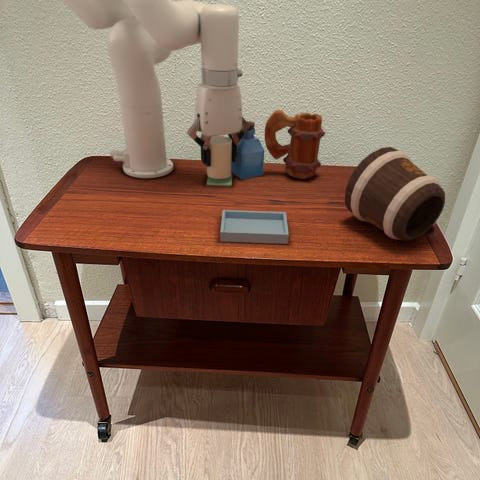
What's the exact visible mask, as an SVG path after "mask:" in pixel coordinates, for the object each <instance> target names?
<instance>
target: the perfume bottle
mask: <svg viewBox="0 0 480 480" xmlns="http://www.w3.org/2000/svg"><path fill="white" fill-rule="evenodd" d="M246 121H247V122H248V124H249V125H250V127H249V129H248V130H247V131H246V132H245V133H244V136H243V137H242V138H241V140H240V141H239V144H238V145H237V157H236V162H232V167H231V173H232V174H234V175H235V176H236V177H237V178H239V179H240V180H245V179H251V178H257V177H262V176H264V163H265V149H264V147H263V145H262V143H261V140H260V139H259V138H258V137H256V136H254V135H255V134H256V127H255V124H256V123H255V122H254V121H248V120H246Z"/></svg>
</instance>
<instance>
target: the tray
mask: <svg viewBox="0 0 480 480" xmlns="http://www.w3.org/2000/svg"><path fill="white" fill-rule="evenodd" d="M219 235H220V236H219V238H220V239H219V241H220V242H222V243H223V242H226V243H249V244H250V243H251V244H253V243H255V244H277V245H279V244H281V245H288V244H289V236H290V234H289V225H288V219H287V212H286V211H266V210H265V211H264V210H263V211H261V210H260V211H259V210H240V209H239V210H237V209H236V210H234V209H222V213H221V222H220V231H219Z"/></svg>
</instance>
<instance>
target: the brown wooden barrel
mask: <svg viewBox="0 0 480 480" xmlns="http://www.w3.org/2000/svg"><path fill="white" fill-rule="evenodd" d="M344 203H345V207H346V209H347V211H349V212H350V213H351V214H352V215H353V216H354V217H355V218H356V219H357V220H359V221H362V222H367V223H370V224H371V225H373V226H375V227H377V228H378V229H379V230H381V231H383V232H384V234H385V235H386V236H387V237H389V238H390V239H392V240H399V241H405V242H408V241H412V240H416V239H417V238H419V237H421V236H422V235H424V234H425V233H426V232H427V231H429V230H430V229H431V228H432V227H433V226H435V225H436V224H437V223H438V219H439V218H440V216H441V214H442V212H443V210H444V207H445V204H446V192H445V190H444V189H443V187H442V184H441V182H440V181H439V180H438V179H437V178H436V177H435V176H432V175H429V174H427V173H425V172H424V171H423V170H422V168H420V167H419V166H417V165H416V164H415V163H414V161H412V159H411V158H410V156H409V155H408V154H407V153H406V152H404V151H401V150H399V149H397V148H395V147H392V146H387V147H386V146H385V147H380V148H379V149H377V150H375V151H372V152H371V153H369V154H368V155H367V156H366V157H364V158H363V159H362V160H361V161H360V162H359V163H358V164H357V166H356V167H355V168H354V170H353V171H352V173H351V175H350V177H348V180H347V184H346V187H345V189H344Z"/></svg>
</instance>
